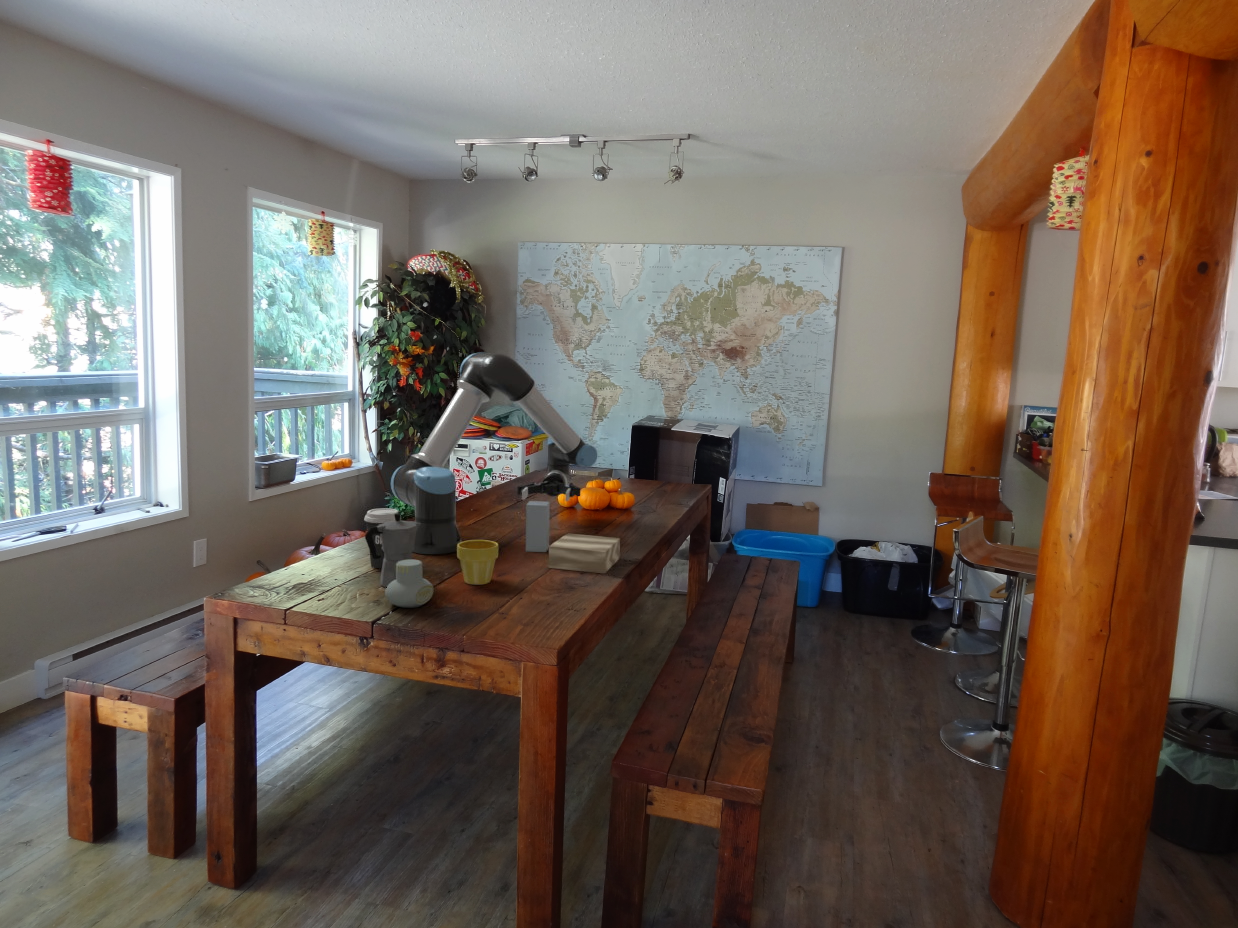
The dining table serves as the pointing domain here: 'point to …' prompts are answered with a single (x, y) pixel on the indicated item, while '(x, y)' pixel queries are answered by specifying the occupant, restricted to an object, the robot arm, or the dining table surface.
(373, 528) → the coffeepot
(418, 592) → the air freshener
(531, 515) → the slate block
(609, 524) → the dining table surface
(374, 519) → the coffee cup
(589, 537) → the birch block
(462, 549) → the plant pot
